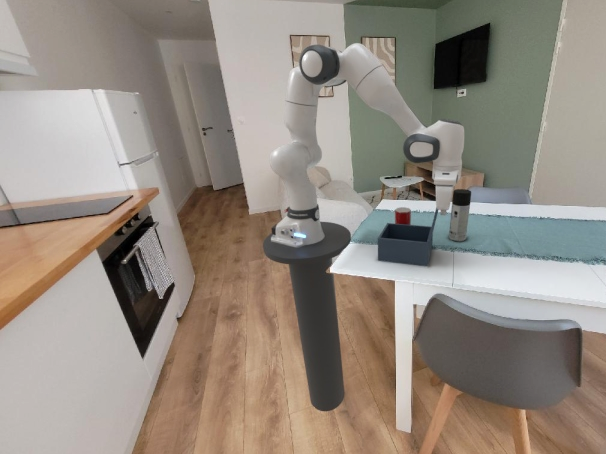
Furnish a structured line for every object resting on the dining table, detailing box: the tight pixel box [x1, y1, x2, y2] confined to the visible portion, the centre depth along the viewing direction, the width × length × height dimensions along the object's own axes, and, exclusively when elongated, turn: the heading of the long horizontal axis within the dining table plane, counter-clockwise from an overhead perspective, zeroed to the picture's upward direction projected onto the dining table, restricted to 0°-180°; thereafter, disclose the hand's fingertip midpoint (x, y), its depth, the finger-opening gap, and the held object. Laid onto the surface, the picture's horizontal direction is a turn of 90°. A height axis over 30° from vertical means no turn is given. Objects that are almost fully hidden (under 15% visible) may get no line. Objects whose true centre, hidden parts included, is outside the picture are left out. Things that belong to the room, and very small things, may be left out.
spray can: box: [448, 188, 472, 243], centre depth 114 cm, size 7×7×20 cm
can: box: [394, 206, 412, 225], centre depth 119 cm, size 6×6×12 cm
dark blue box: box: [377, 222, 434, 267], centre depth 106 cm, size 18×15×9 cm
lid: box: [428, 207, 439, 242], centre depth 98 cm, size 18×15×1 cm
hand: (443, 213), depth 98 cm, fingers closed, pressing on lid
